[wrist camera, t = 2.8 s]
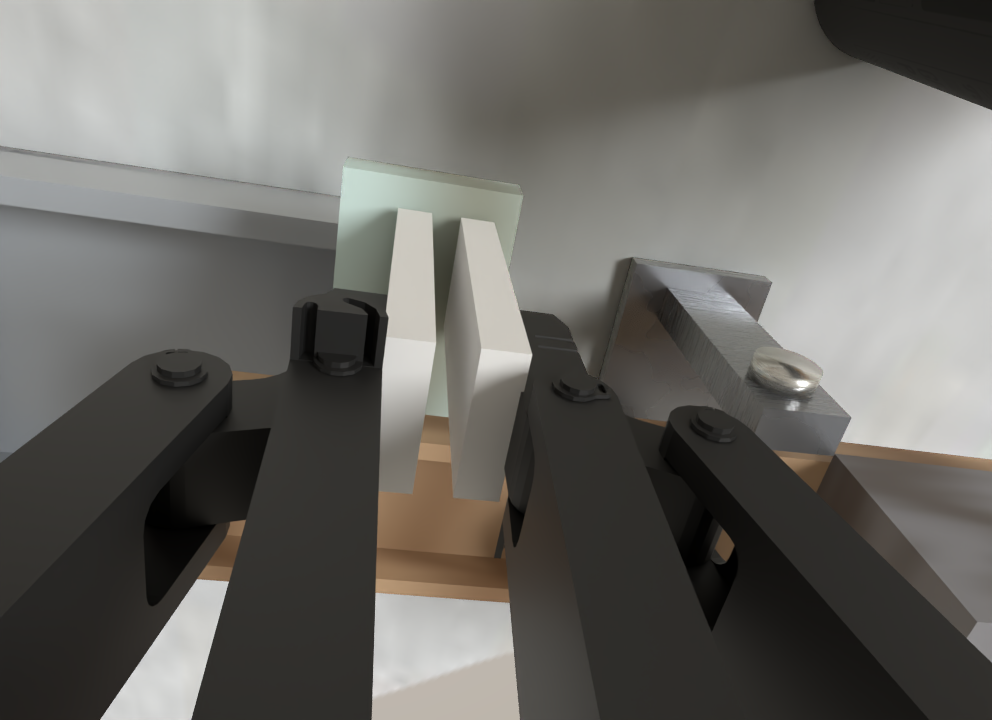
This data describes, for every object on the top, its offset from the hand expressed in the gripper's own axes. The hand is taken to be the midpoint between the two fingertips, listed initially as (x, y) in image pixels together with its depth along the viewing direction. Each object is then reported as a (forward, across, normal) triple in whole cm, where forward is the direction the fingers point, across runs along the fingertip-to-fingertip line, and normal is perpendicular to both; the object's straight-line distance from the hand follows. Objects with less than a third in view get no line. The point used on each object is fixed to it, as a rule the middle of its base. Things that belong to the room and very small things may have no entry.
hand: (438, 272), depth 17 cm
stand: (+8, +10, -6) cm, 14 cm away
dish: (+8, -8, -6) cm, 13 cm away
